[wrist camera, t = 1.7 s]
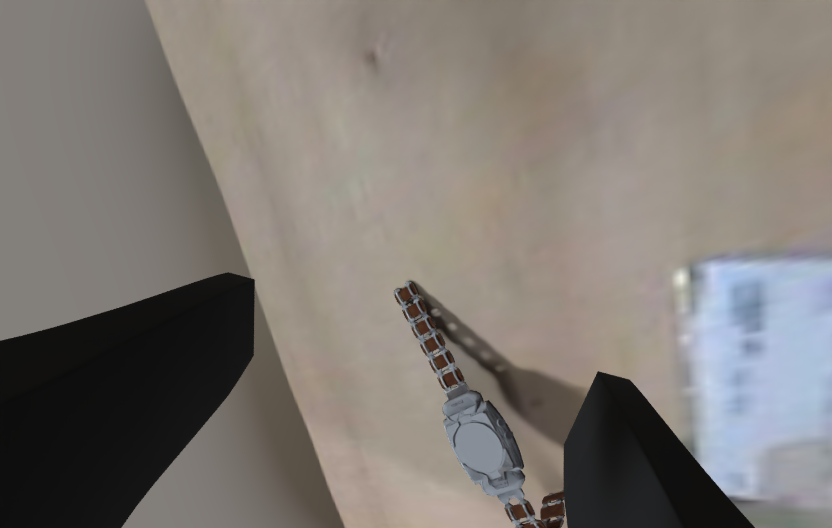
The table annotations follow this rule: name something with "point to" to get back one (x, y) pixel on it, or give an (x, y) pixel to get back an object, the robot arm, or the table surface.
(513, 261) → the table surface
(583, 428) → the robot arm
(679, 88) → the table surface
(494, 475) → the wristwatch
